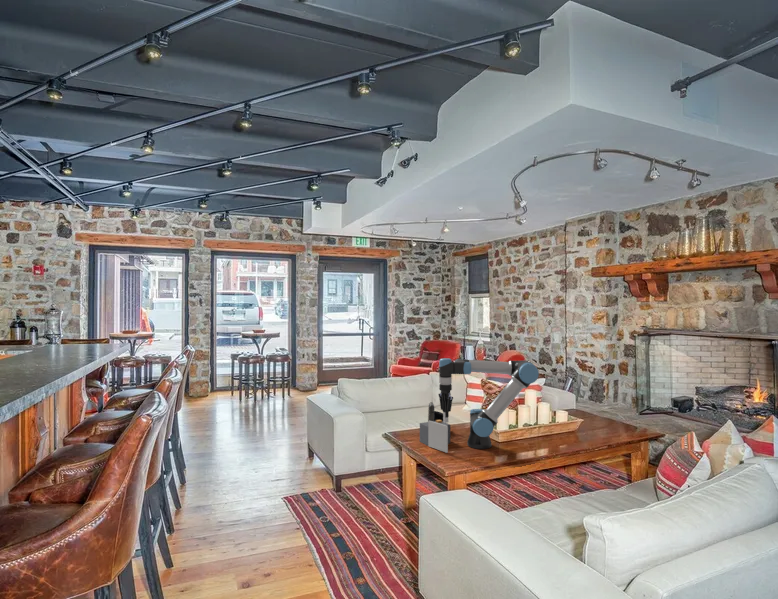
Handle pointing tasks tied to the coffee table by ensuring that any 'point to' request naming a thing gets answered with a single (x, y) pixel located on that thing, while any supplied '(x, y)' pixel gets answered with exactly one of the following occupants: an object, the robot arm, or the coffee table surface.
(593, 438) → the coffee table surface
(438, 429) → the grey square panel
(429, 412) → the vintage camera
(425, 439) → the grey box
